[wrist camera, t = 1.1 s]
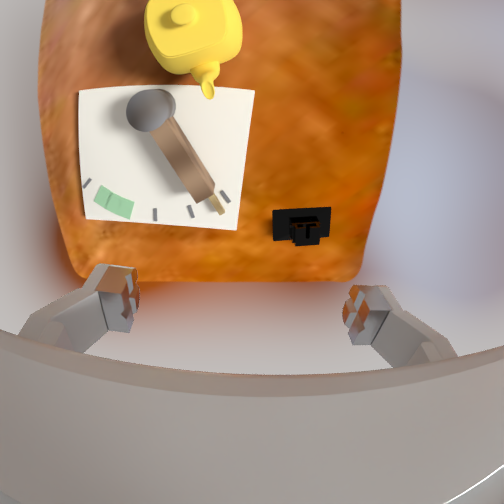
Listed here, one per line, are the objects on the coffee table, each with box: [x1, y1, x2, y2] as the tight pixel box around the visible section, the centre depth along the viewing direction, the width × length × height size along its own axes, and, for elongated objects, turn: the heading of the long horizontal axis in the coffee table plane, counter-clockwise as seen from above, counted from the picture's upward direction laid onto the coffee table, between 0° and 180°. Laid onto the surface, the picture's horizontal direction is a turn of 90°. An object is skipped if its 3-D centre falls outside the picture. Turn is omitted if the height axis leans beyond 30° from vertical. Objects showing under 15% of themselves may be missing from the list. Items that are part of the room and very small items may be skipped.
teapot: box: [144, 0, 242, 100], centre depth 23 cm, size 18×11×11 cm, turn 14°
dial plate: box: [79, 85, 255, 230], centre depth 36 cm, size 20×24×2 cm
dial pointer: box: [126, 89, 225, 215], centre depth 33 cm, size 20×5×4 cm, turn 27°
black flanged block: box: [272, 207, 331, 246], centre depth 42 cm, size 12×7×5 cm, turn 93°
